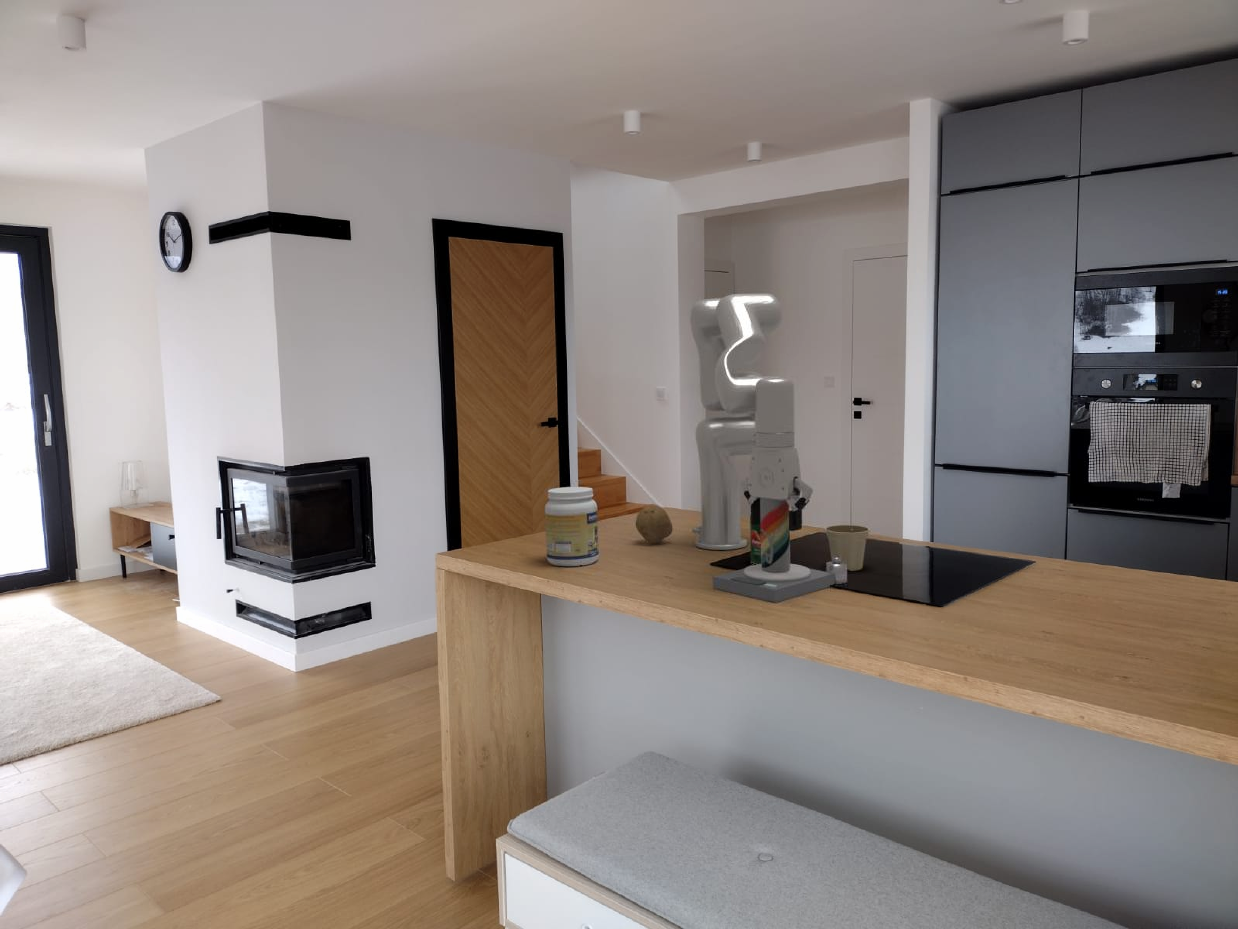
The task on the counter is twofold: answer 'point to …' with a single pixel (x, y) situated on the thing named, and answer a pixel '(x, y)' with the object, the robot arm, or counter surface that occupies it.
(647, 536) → the brown rounded lump
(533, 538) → the counter surface
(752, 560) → the canned tomato
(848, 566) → the flower pot
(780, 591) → the kitchen scale
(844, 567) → the calibration weight
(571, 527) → the supplement tub
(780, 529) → the lotion bottle
